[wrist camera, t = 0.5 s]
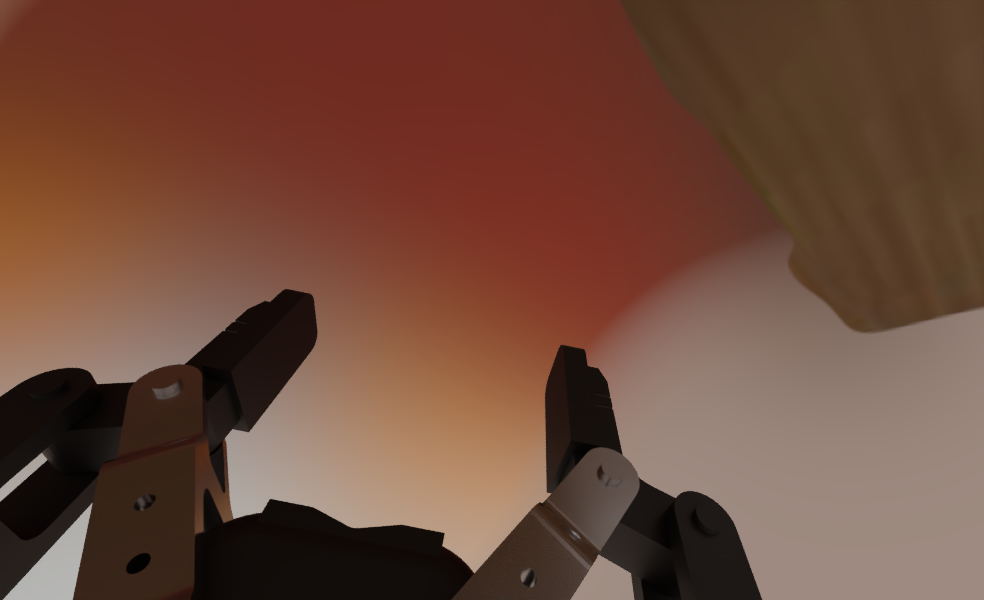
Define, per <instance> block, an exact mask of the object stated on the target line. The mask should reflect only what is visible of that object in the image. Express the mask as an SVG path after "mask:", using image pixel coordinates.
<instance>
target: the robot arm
mask: <svg viewBox="0 0 984 600" xmlns="http://www.w3.org/2000/svg"><path fill="white" fill-rule="evenodd" d="M316 339H317V323H316V314H315V306H314V298H313V296H312V295H311V294H309V293H304V292H299V291H294V290H289V289H285V290H283V291H282V292H281V293H279V294H278V295H277V296H276V297H275V298H274V299H273V300H272V301H271V302H267V301H264V302H262V303H260V304H258V305H256V306H253V307H251V308H249V309H247V310H246V311H245V312H244V313H243V314H242V315H241V316H239V317H238V318H237V319H236V321H235V322H233V323H231V324H230V325H229V326H228V327H227V328H226V329H225V331H222V332H221V333H220V334H219V335H218V336H217V337H216V338H214V339H213V340H212V341H211V342H210V343H209V344H207V345H206V346H205V347H204V348H203V349H202V350H201V351H199V352H198V353H197V354H196V355H195V356H194V357H193V358H191V359H190V360H189V361H188V362H187V363H186V364H184V365H183V364H182V365H181V364H178V365H170V366H165V367H161V368H158V369H155V370H153V371H151V372H149V373H147V374H145V375H144V376H142V377H141V378H139V379H138V380H137V381H136V382H131V383H112V384H97V383H96V382H95V380H94V378H93V376H92V375H91V373H90V372H88V371H87V370H84V369H80V368H63V369H57V370H52V371H49V372H44V373H42V374H39V375H37V376H34V377H32V378H29V379H27V380H25V381H24V382H22V383H20V384H18V385H17V386H15V387H14V388H13V389H11V390H9V391H8V392H7V393H5V394H4V395H2V396H1V397H0V488H1V487H2V486H3V485H4V484H6V483H7V482H8V481H9V480H10V479H11V478H12V477H14V476H15V475H16V474H17V473H18V472H19V471H21V470H22V469H23V468H24V467H25V466H27V465H28V464H29V463H30V462H31V461H32V460H33V459H35V458H36V457H37V456H38V455H39V454H41V453H43V455H44V456H45V457H46V458H47V459H48V460H47V461H46V462H45V463H44V464H43V465H41V466H40V467H39V468H38V469H37V470H36V471H35V472H34V473H32V474H31V475H30V476H29V477H28V478H27V479H26V480H24V481H23V482H22V483H21V484H20V485H19V486H18V487H17V488H16V489H14V490H13V491H12V492H11V493H10V494H9V495H7V496H6V497H5V498H4V499H3V500H2V501H1V502H0V600H3V599H4V598H5V596H6V595H7V594H8V593H9V592H10V591H11V590H12V589H13V588H14V587H15V586H16V585H17V583H18V582H19V581H20V580H21V579H22V578H23V577H24V576H25V575H26V574H27V573H28V572H29V571H30V570H31V568H32V567H33V566H34V565H35V564H36V563H37V562H38V561H39V560H40V559H41V558H42V556H43V555H44V554H45V553H46V552H47V551H48V550H49V549H50V548H51V547H52V546H53V545H54V544H55V542H56V541H57V540H58V539H59V538H60V537H61V536H62V535H63V534H64V533H65V532H66V530H67V529H68V528H69V527H70V526H71V525H72V524H73V523H74V522H75V521H76V520H77V519H78V518H79V517H80V515H81V514H82V513H83V512H84V511H85V510H86V509H87V508H88V507H89V506H90V505H91V503H92V502H93V504H92V509H91V514H90V519H89V524H88V529H87V533H86V539H85V543H84V549H83V553H82V558H81V563H80V567H79V572H78V577H77V582H76V587H75V592H74V597H73V600H570V599H571V598H572V596H573V595H574V593H575V592H576V590H577V588H578V587H579V585H580V584H581V582H582V580H583V579H584V577H585V576H586V574H587V573H588V571H589V569H590V568H591V566H592V565H593V563H594V562H595V560H596V558H597V556H598V554H599V555H601V556H602V557H604V558H606V559H608V560H609V561H611V562H613V563H614V564H616V565H618V566H620V567H621V568H623V569H625V570H627V571H628V572H630V573H631V576H632V583H633V591H634V599H635V600H762V598H761V595H760V592H759V590H758V587H757V584H756V581H755V579H754V576H753V573H752V571H751V568H750V565H749V562H748V560H747V557H746V554H745V551H744V549H743V546H742V543H741V540H740V538H739V535H738V532H737V530H736V527H735V525H734V523H733V521H732V520H731V518H730V516H729V515H728V514H727V512H726V511H725V510H724V509H723V508H722V507H721V506H720V505H719V504H718V503H716V502H715V501H714V500H713V499H711V498H709V497H708V496H706V495H703V494H701V493H698V492H694V491H687V492H683V493H681V494H680V495H678V496H677V498H674V497H672V496H670V495H668V494H666V493H664V492H662V491H660V490H658V489H656V488H654V487H652V486H651V485H649V484H647V483H645V482H644V481H643V480H641V479H640V478H639V477H638V474H637V472H636V470H635V468H634V467H633V465H632V464H631V463H630V462H629V461H628V459H626V458H625V457H624V456H623V454H622V450H621V445H620V440H619V436H618V431H617V426H616V422H615V417H614V412H613V410H612V403H611V398H610V393H609V388H608V383H607V381H606V379H605V378H604V376H603V375H602V373H601V372H600V370H599V369H598V368H594V367H589V366H588V365H587V359H586V353H585V350H584V349H580V348H575V347H571V346H566V345H560V347H559V349H558V352H557V355H556V358H555V360H554V363H553V366H552V369H551V372H550V375H549V377H548V381H547V385H546V392H545V415H546V416H545V418H546V468H547V469H546V472H547V493H552V494H551V495H550V496H549V497H548V498H547V499H546V500H545V501H544V502H543V503H538V504H537V505H536V506H535V507H534V508H532V509H531V511H530V512H529V513H528V514H527V515H526V516H525V517H524V518H523V520H522V521H521V522H520V523H519V524H518V525H517V526H516V527H515V529H514V530H513V531H512V532H511V533H510V534H509V535H508V536H507V538H506V539H505V540H504V541H503V542H502V543H501V544H500V545H499V547H498V548H497V549H496V550H495V551H494V552H493V554H491V556H490V557H489V558H488V559H487V560H486V561H485V562H484V564H483V565H482V566H481V567H480V568H479V569H478V570H477V571H476V573H473V571H472V570H471V569H470V567H469V566H468V565H467V564H466V563H465V562H464V561H463V560H462V559H461V558H460V557H458V556H457V555H455V554H454V553H453V552H451V551H450V550H448V549H446V548H445V547H443V546H442V544H443V539H444V533H441V532H436V531H431V530H425V529H420V528H415V527H410V526H405V525H393V526H382V527H368V528H351V527H348V526H346V525H345V524H343V523H341V522H339V521H337V520H336V519H333V518H332V517H330V516H328V515H326V514H324V513H323V512H321V511H319V510H317V509H315V508H313V507H309V506H304V505H299V504H293V503H288V502H283V501H278V500H273V499H270V500H269V502H268V503H267V505H266V507H265V508H264V510H263V512H262V513H256V514H252V515H246V516H243V517H239V518H236V519H233V515H232V511H231V506H230V497H229V480H228V462H227V445H226V441H225V437H226V436H227V435H228V434H229V432H230V431H231V430H232V429H235V430H240V431H245V432H249V431H250V430H251V429H252V428H253V426H254V425H255V424H256V422H257V421H258V420H259V418H260V417H261V416H262V415H263V413H264V412H265V411H266V409H267V408H268V407H269V405H270V404H271V403H272V401H273V400H274V399H275V398H276V396H277V395H278V394H279V392H280V391H281V390H282V389H283V387H284V386H285V385H286V383H287V382H288V381H289V379H290V378H291V377H292V376H293V374H294V373H295V372H296V370H297V369H298V368H299V366H300V365H301V364H302V362H303V361H304V360H305V359H306V357H307V356H308V354H309V353H310V352H311V351H312V349H313V347H314V345H315V343H316Z"/></svg>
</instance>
